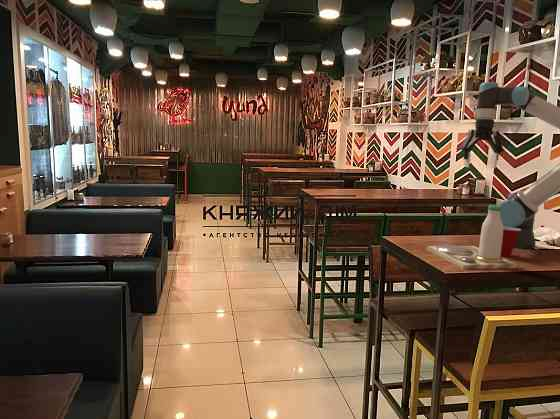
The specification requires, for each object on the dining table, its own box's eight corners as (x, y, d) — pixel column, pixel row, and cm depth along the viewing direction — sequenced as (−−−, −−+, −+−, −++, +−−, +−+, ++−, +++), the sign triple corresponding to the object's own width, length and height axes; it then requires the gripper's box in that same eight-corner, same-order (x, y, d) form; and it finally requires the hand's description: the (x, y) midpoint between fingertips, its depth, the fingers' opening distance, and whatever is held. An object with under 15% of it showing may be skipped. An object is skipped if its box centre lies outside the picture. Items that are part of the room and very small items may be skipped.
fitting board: (473, 249, 204) (473, 245, 204) (516, 268, 177) (517, 264, 177) (426, 249, 200) (426, 246, 200) (463, 268, 173) (463, 264, 173)
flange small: (470, 259, 182) (470, 257, 181) (478, 262, 177) (478, 260, 177) (458, 259, 181) (458, 257, 180) (465, 262, 176) (466, 260, 176)
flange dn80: (492, 255, 188) (492, 253, 188) (508, 262, 179) (509, 260, 178) (469, 255, 186) (469, 254, 186) (484, 263, 177) (485, 261, 177)
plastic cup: (522, 256, 196) (526, 227, 194) (510, 259, 190) (513, 230, 188) (496, 250, 205) (500, 222, 203) (484, 253, 198) (487, 225, 196)
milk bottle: (501, 260, 178) (508, 208, 174) (479, 258, 180) (485, 206, 177) (498, 255, 185) (504, 205, 182) (477, 253, 187) (482, 203, 184)
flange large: (460, 246, 202) (460, 244, 202) (479, 255, 188) (479, 253, 188) (429, 246, 199) (430, 244, 199) (447, 255, 186) (447, 253, 186)
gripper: (503, 120, 214) (498, 167, 218) (455, 117, 208) (450, 166, 212) (515, 120, 207) (509, 168, 211) (465, 117, 201) (460, 167, 205)
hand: (480, 167), depth 211 cm, fingers open, 13 cm apart
